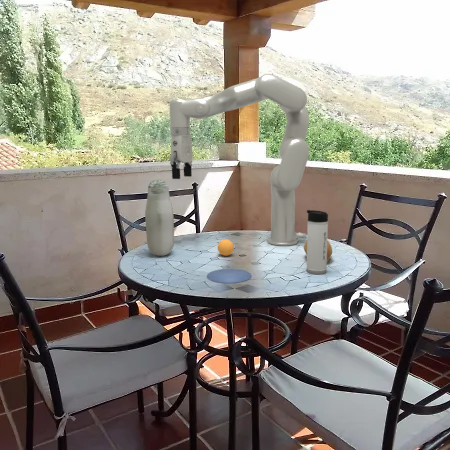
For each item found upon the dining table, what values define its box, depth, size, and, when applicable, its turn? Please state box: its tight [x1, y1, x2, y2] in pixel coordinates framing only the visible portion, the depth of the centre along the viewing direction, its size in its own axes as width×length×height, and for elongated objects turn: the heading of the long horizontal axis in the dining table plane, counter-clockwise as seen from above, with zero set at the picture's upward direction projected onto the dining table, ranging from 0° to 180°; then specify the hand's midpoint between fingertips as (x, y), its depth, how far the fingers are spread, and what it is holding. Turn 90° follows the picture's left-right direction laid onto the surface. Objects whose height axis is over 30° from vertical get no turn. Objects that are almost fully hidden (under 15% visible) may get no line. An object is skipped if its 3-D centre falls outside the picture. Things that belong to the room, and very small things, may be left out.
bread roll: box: [303, 239, 333, 262], centre depth 154 cm, size 10×15×8 cm, turn 178°
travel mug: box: [306, 209, 329, 275], centre depth 139 cm, size 6×7×20 cm
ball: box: [217, 238, 235, 257], centre depth 161 cm, size 6×6×6 cm
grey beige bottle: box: [144, 179, 175, 257], centre depth 161 cm, size 10×10×28 cm
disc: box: [206, 268, 252, 284], centre depth 138 cm, size 14×14×1 cm
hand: (182, 177), depth 171 cm, fingers open, 9 cm apart
